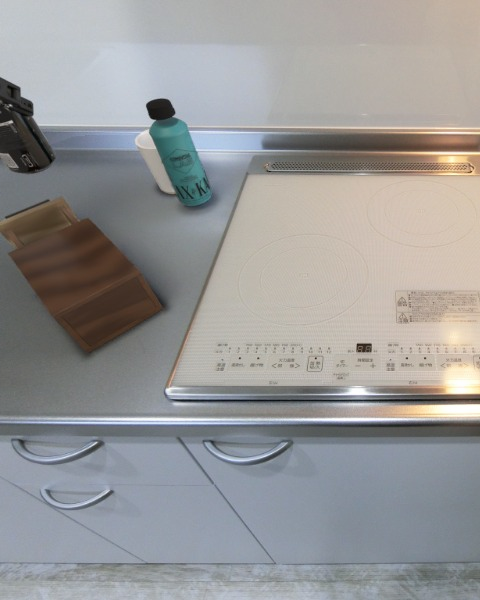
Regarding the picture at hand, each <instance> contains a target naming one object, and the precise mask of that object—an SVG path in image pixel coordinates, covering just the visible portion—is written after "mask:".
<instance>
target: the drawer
mask: <svg viewBox="0 0 480 600" xmlns="http://www.w3.org/2000/svg"><path fill="white" fill-rule="evenodd" d="M79 221H80V219H79V218H78V216H77V215H76V214H75V212H74V210H73V209H72V208H71V206H70V204H69V203H68V202H67V201H66V199H65V198H64V197H63V196H62V195H61V196H59V197H56V198H54V199H51V200H50V199H48V198H47V199H45V200H42V201H40V202H37V203H34V204H32V205H30V206H28V207H25V208H22V209H20V210H17V211H15V212H13V213H10V214H8V215H5V216H4V219H3V220H0V234H1V236H3V238H4V239H5V240H6V241H7V242H8V243H9V244H10V245H11V246H12V247H13V249H14V250H16V249H19V248H21V247H23V246H25V245H28V244H30V243H32V242H34V241H36V240H39V239H41V238H43V237H45V236H48V235H50V234H52V233H54V232H57V231H59V230H61V229H63V228H66V227H68V226H70V225H72V224H74V223H77V222H79Z"/></svg>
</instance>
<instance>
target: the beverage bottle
mask: <svg viewBox="0 0 480 600" xmlns="http://www.w3.org/2000/svg"><path fill="white" fill-rule="evenodd" d="M145 108H146V111H147V115H148V117H149V118H150V119H151V120H153V122H152V124H151V125H150V127H149V128H148V129H149V134H150V136H151V137H152V140H153V142H154V144H155V147H156V149H157V151H158V153H159V156H160V158H161V161H162V162H161V163H163V165H164V167H163V168H165V172H167V175H168V177H169V181H171V183H172V186H173V187H172V188H174V189H173V190H175V192H176V194H175V195H176V198H177V200H178V201H179V202H180V203H181V204H182V205H184V206H188V207H195V206H200V205H202V204H205V203H206V202H208V201H209V200H210V199H211V198H212V188H211V184H210V181H209V179H208V176H207V173H206V170H205V169H204V166H203V163H202V160H201V159H200V156H199V151H198V150H197V149H196V146H195V143H194V140H193V138H192V135H191V132H190V130H189V127H188V124H187V123H186V121H184V120H182V119H180V118H178V117H175V115H176V114H177V113H176V109H175V107H174V106H173V104H172V101H171V100H170V99H168V98H163V97H162V98H155V99H151V100H149V101H148V102H147V103H146V104H145Z"/></svg>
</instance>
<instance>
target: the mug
mask: <svg viewBox="0 0 480 600" xmlns="http://www.w3.org/2000/svg"><path fill="white" fill-rule="evenodd" d="M149 129H150V128H148V129H145V130H143V131H142V132H140V133H138V134H137V135H136V137H135V139H134V143H135V145H136V147H137V149H138V151H139V153H140V155H141V157H142V158H143V160H144V162H145V164H146V166H147V167H148V169H149V171H150V173H151V174H152V177H153V178H154V180H155V181H156V184H157V185H158V187H159V189H160V190H161V191H162V192H164V193H165V194H167V195H177V194H176V192H175V190H173V189H174V188H172V187H173V186H172V183H171V181H169V177H168V175H167V172H165V168H163V167H164V165H163V163H161V162H162V161H161V158H160V156H159V153H158V151H157V149H156V147H155V144H154V142H153V140H152V137H151V136H150V134H149Z"/></svg>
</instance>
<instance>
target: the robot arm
mask: <svg viewBox="0 0 480 600" xmlns="http://www.w3.org/2000/svg"><path fill="white" fill-rule="evenodd" d="M21 89H22V88H21V86H18V85H17V84H15V83H13V82H11V81H9V80H7V79H5V78H3V77H1V76H0V106H2V107H5V108H8V109H10V110H13V111H15V112H18V113H20V114H23V115H25V116H32V117H34V114H35V112H34V111H35V110H34V109H35V108H34V102H33V101H31V99H28V98H25V97H23V96H22V92H21V91H22V90H21Z"/></svg>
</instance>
